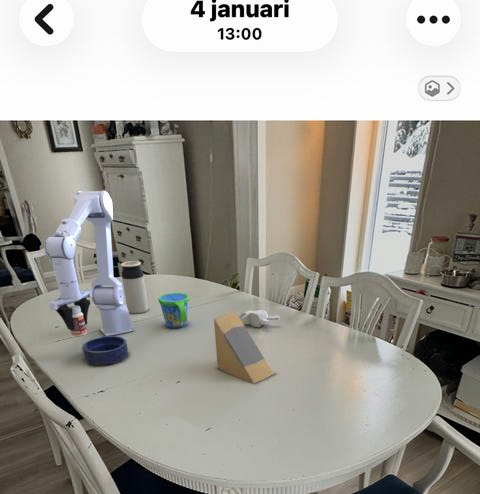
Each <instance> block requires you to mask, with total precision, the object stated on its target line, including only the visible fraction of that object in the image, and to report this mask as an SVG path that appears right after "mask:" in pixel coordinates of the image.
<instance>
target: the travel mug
mask: <svg viewBox="0 0 480 494" xmlns="http://www.w3.org/2000/svg"><path fill="white" fill-rule="evenodd" d="M120 266H121V268H122V271H121V279H122V287H123V292H124V298H125V302H126V306H127V308H128V311H129V314H142V313H145V312H148V311H149V306H148V305H149V304H148V298H147V292H146V291H147V290H146V284H145V278H144V271H143V270H142V268H141V261H138V260H130V261H123V262H121V263H120Z"/></svg>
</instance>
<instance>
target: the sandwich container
mask: <svg viewBox="0 0 480 494" xmlns="http://www.w3.org/2000/svg"><path fill="white" fill-rule="evenodd" d="M213 326H214V338H215V349H216V350H215V351H216V363H217V369H218V370H221V371H223V372H225V373H228V374H230V375H232V376H235V377H237V378H239V379H242V380H245V381H247V382H249V383H252V384H256V383H258V382H260V381H263V380H266V379H267V378H269V377H271V376H273V375H275V372H274V371H273V369H272V368H271V366H270V365H269V363H268V361H267V360H266V359H265V357H264V355H263V353H262V351H261V350H260V349H259V347H258V346H257V344H256V343H255V340H254V339H253V338H252V335H251V334H250V333H249V331H248V330H247V328H246V326H245V324H243V323H242V321H241V319H240V317H239V314H238V312H237V311H232V312H229V313H226V314H223V315H220V316H216V317H214V318H213Z"/></svg>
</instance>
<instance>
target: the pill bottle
mask: <svg viewBox="0 0 480 494" xmlns="http://www.w3.org/2000/svg"><path fill="white" fill-rule="evenodd" d="M68 307H69V308H73V310H72V317H73V323H74V330H70V329H69V330H70V335H71V336H72V337H83V336H85V335H87V334H88V331H87V324H86V325H85V321H84V316H83V313H82V312H81V308H80V306H78V305H74V304H73V305H68Z"/></svg>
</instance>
